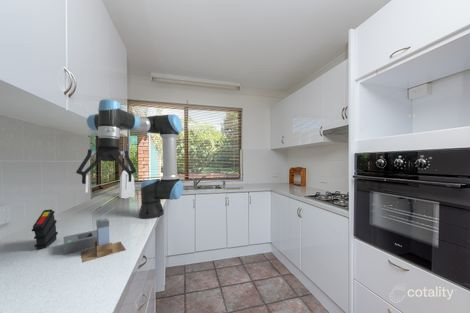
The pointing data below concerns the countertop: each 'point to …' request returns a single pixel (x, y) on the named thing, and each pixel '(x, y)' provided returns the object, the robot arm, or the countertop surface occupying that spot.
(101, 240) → the plug
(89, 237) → the port box
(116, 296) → the countertop surface
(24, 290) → the countertop surface
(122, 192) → the milk
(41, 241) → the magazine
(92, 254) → the holster
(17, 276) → the countertop surface
